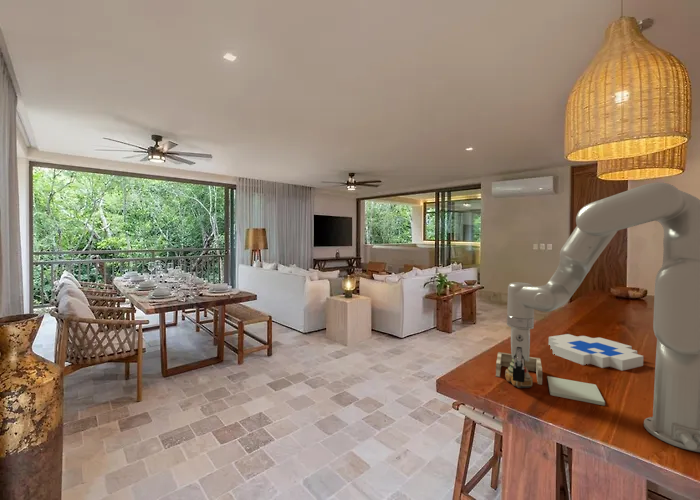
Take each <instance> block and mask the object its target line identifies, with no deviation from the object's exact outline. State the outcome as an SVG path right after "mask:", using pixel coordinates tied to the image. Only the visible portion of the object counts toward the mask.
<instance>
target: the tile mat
mask: <svg viewBox="0 0 700 500" xmlns="http://www.w3.org/2000/svg"><path fill="white" fill-rule="evenodd" d="M546 379H547V384H548V386H547V387H548V390H549V395H550V396H554V397H558V398H559V397H560V398H564V399H569V400H574V401H580V402H584V403H590V404H594V405H600V406H606V401H605V400H604V397H603V396H602V394H601V392H600V390H599V388H598V386H597V384H594V383H590V382H589V383H588V382H582V381H578V380H571V379H565V378H559V377H555V376H549V375H547V376H546Z"/></svg>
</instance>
